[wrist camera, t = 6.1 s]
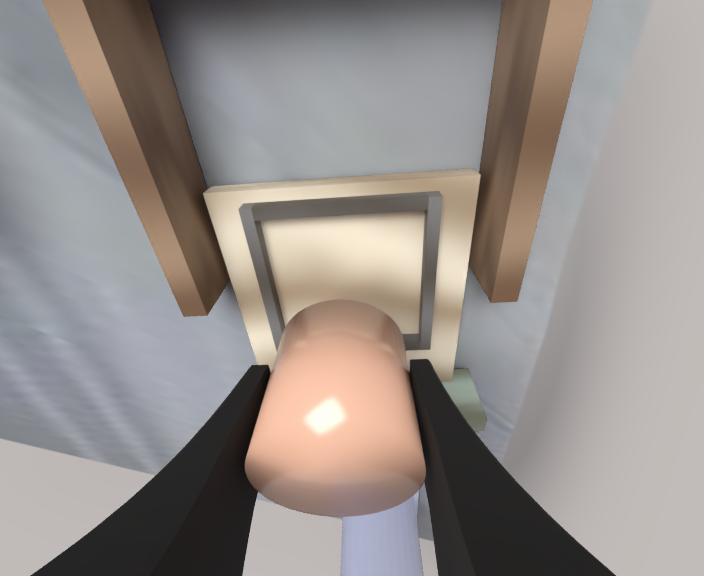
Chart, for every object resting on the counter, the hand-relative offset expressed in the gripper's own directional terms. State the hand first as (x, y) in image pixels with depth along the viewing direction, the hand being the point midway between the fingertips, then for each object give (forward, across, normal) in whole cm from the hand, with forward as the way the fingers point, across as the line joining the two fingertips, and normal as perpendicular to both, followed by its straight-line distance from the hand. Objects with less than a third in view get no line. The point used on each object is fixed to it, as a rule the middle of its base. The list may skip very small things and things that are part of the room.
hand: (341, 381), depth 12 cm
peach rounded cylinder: (+2, 0, 0) cm, 2 cm away
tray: (+8, 0, +2) cm, 8 cm away
